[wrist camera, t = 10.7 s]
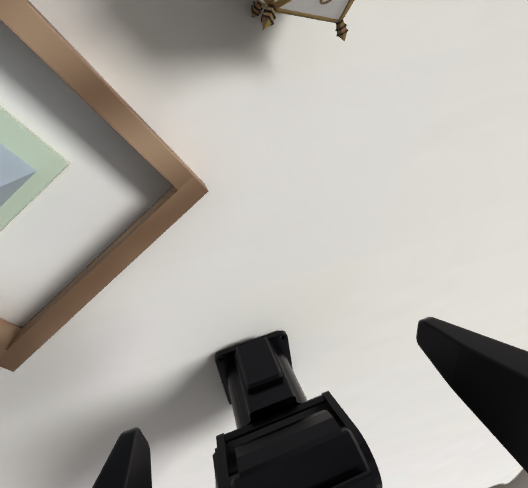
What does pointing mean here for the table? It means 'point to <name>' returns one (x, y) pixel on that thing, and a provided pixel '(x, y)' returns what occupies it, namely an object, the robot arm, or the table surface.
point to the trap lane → (139, 137)
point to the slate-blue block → (12, 173)
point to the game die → (305, 11)
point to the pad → (34, 154)
